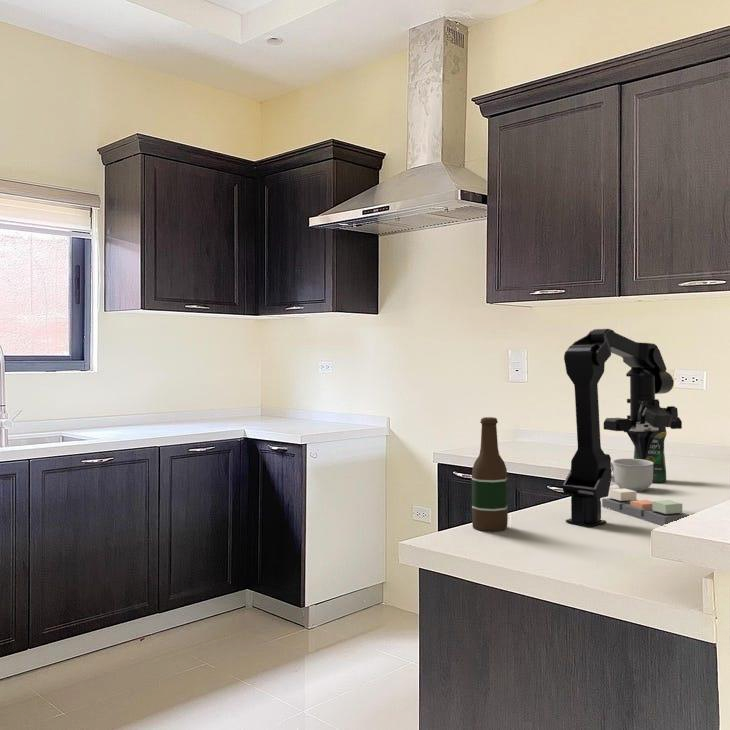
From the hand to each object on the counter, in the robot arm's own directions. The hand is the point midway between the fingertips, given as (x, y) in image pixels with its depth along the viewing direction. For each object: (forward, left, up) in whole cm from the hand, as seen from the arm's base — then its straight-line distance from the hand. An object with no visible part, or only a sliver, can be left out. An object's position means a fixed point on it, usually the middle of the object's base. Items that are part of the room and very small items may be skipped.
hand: (643, 458), depth 182 cm
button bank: (-7, -5, -12) cm, 15 cm away
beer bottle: (-45, +8, -12) cm, 47 cm away
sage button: (-10, -12, -10) cm, 19 cm away
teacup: (+20, +18, -12) cm, 30 cm away
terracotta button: (-7, -5, -11) cm, 14 cm away
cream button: (-5, +3, -10) cm, 11 cm away
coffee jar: (+37, +22, -12) cm, 45 cm away
